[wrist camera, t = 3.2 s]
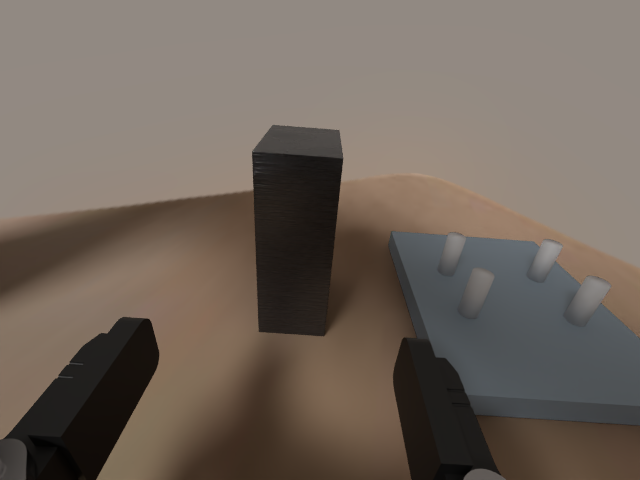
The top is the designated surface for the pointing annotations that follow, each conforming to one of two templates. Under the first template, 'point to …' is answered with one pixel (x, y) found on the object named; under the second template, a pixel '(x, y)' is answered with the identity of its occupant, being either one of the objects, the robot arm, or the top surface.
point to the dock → (520, 328)
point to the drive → (295, 226)
